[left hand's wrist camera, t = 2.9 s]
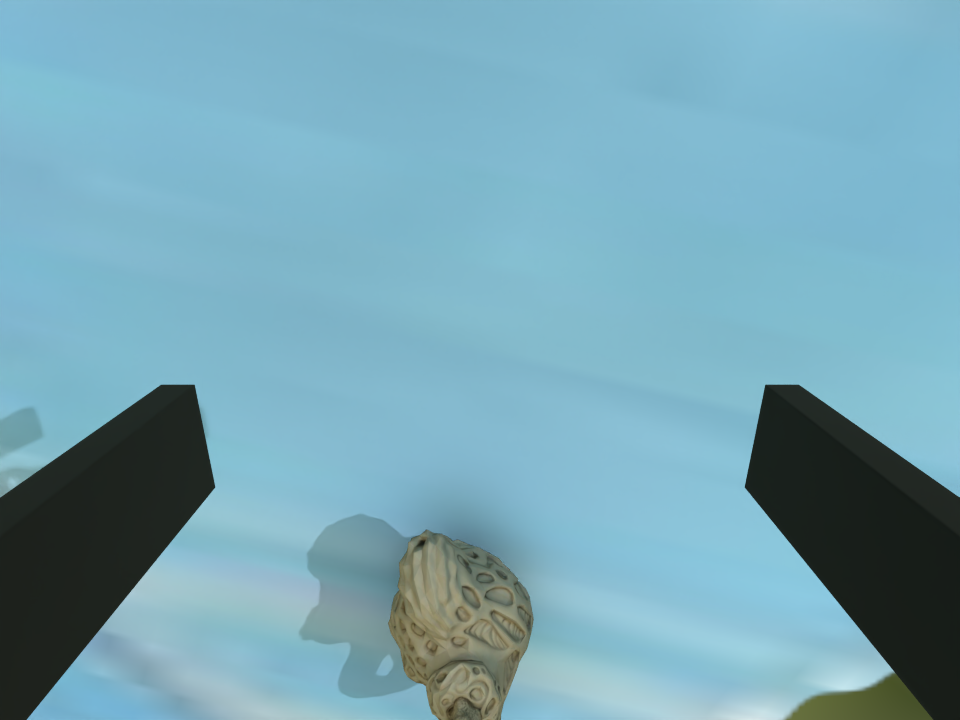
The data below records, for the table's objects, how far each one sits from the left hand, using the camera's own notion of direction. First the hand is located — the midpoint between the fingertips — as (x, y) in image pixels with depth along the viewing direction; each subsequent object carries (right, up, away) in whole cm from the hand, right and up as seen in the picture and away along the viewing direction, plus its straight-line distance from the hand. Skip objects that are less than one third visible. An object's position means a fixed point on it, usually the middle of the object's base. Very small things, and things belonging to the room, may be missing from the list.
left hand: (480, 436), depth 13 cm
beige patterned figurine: (-1, -18, +37) cm, 41 cm away
